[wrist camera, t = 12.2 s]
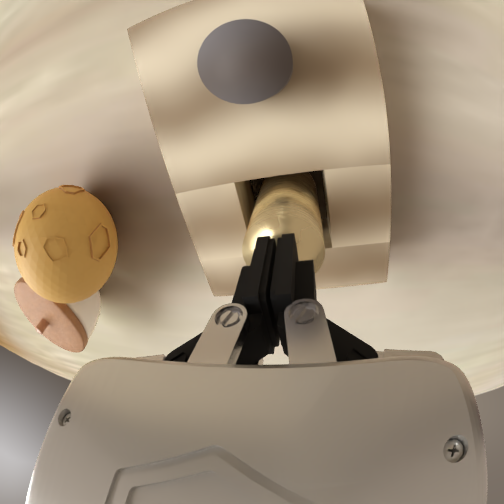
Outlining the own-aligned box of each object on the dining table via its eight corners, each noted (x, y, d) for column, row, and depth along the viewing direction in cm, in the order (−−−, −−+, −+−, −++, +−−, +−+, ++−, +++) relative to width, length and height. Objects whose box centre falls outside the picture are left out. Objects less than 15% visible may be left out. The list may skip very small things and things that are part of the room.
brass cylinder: (256, 168, 19) (232, 221, 13) (312, 161, 18) (321, 211, 12) (267, 218, 21) (252, 287, 15) (319, 212, 20) (327, 281, 14)
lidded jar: (115, 319, 33) (83, 375, 25) (55, 287, 32) (19, 333, 24) (115, 262, 27) (67, 327, 19) (46, 227, 26) (-5, 276, 18)
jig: (156, 35, 14) (96, 24, 8) (343, -6, 11) (366, -46, 5) (225, 265, 25) (203, 325, 19) (375, 250, 21) (396, 312, 16)
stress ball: (125, 260, 28) (148, 282, 20) (51, 302, 23) (43, 343, 15) (90, 174, 24) (97, 156, 16) (11, 216, 19) (-19, 219, 11)
